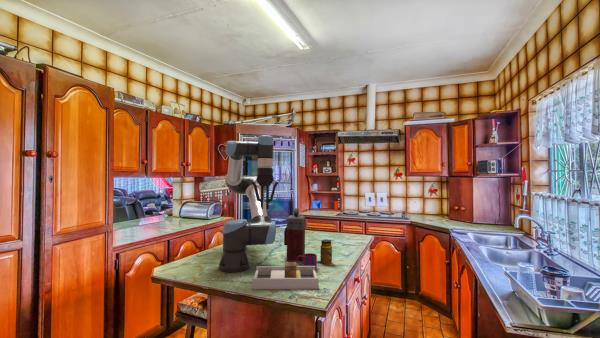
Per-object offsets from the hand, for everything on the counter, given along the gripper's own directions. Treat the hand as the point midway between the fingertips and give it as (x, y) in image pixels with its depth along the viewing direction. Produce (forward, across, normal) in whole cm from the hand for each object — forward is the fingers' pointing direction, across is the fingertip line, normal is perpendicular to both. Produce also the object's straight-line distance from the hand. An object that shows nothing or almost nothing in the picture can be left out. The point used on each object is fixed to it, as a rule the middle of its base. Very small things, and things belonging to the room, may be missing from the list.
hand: (264, 215), depth 134 cm
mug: (+27, +21, +3) cm, 34 cm away
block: (+24, +12, -13) cm, 30 cm away
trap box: (+26, +10, -14) cm, 31 cm away
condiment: (+27, +31, +11) cm, 42 cm away
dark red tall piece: (+27, +15, +19) cm, 36 cm away
